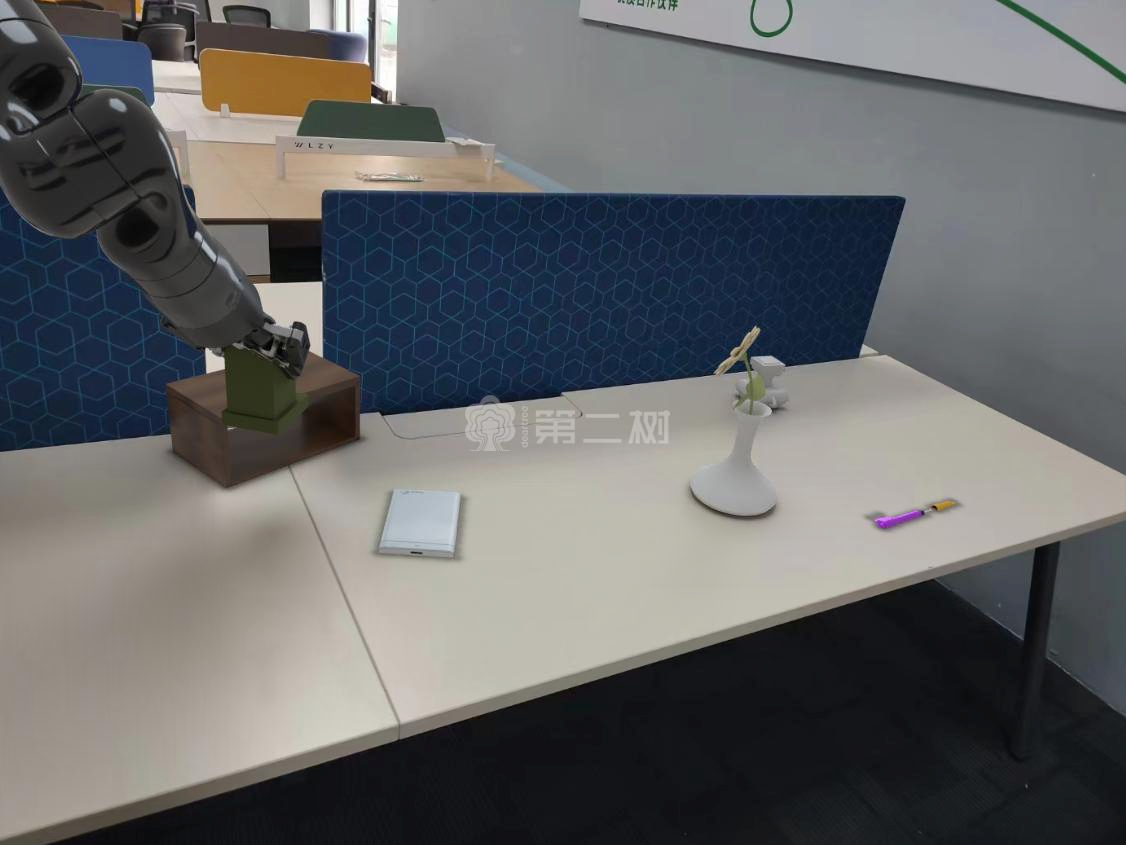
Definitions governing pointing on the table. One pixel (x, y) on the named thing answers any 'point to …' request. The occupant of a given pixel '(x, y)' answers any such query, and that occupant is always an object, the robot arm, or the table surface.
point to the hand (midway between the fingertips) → (269, 366)
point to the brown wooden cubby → (257, 452)
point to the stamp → (766, 381)
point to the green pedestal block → (259, 394)
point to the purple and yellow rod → (909, 515)
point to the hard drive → (421, 523)
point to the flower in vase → (739, 453)
